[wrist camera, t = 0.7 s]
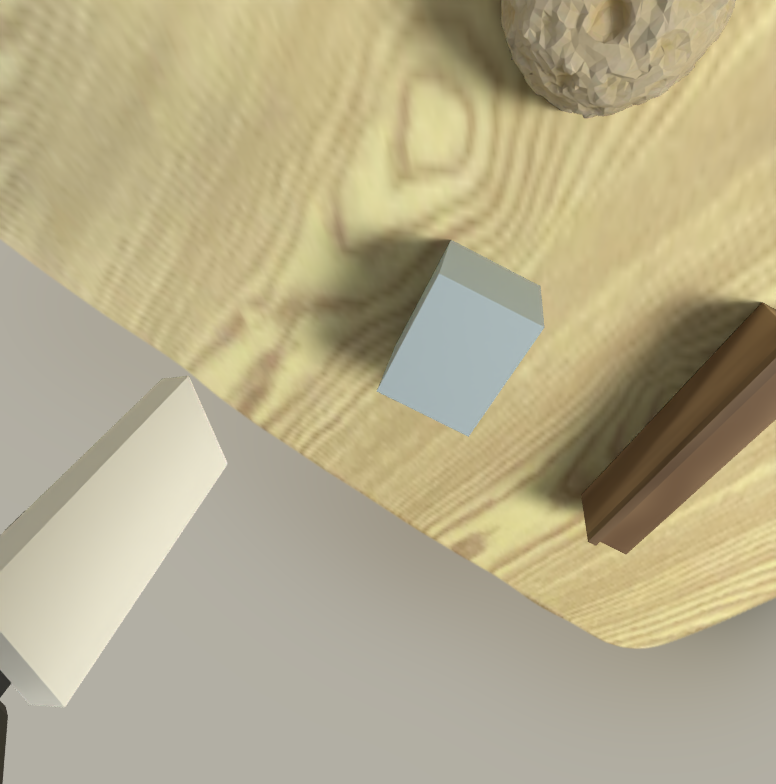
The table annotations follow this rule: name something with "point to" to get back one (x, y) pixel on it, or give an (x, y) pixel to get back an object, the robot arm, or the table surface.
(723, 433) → the brown wooden bar
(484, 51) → the table surface
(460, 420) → the block
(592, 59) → the sponge
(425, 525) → the table surface
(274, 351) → the table surface
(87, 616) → the robot arm
